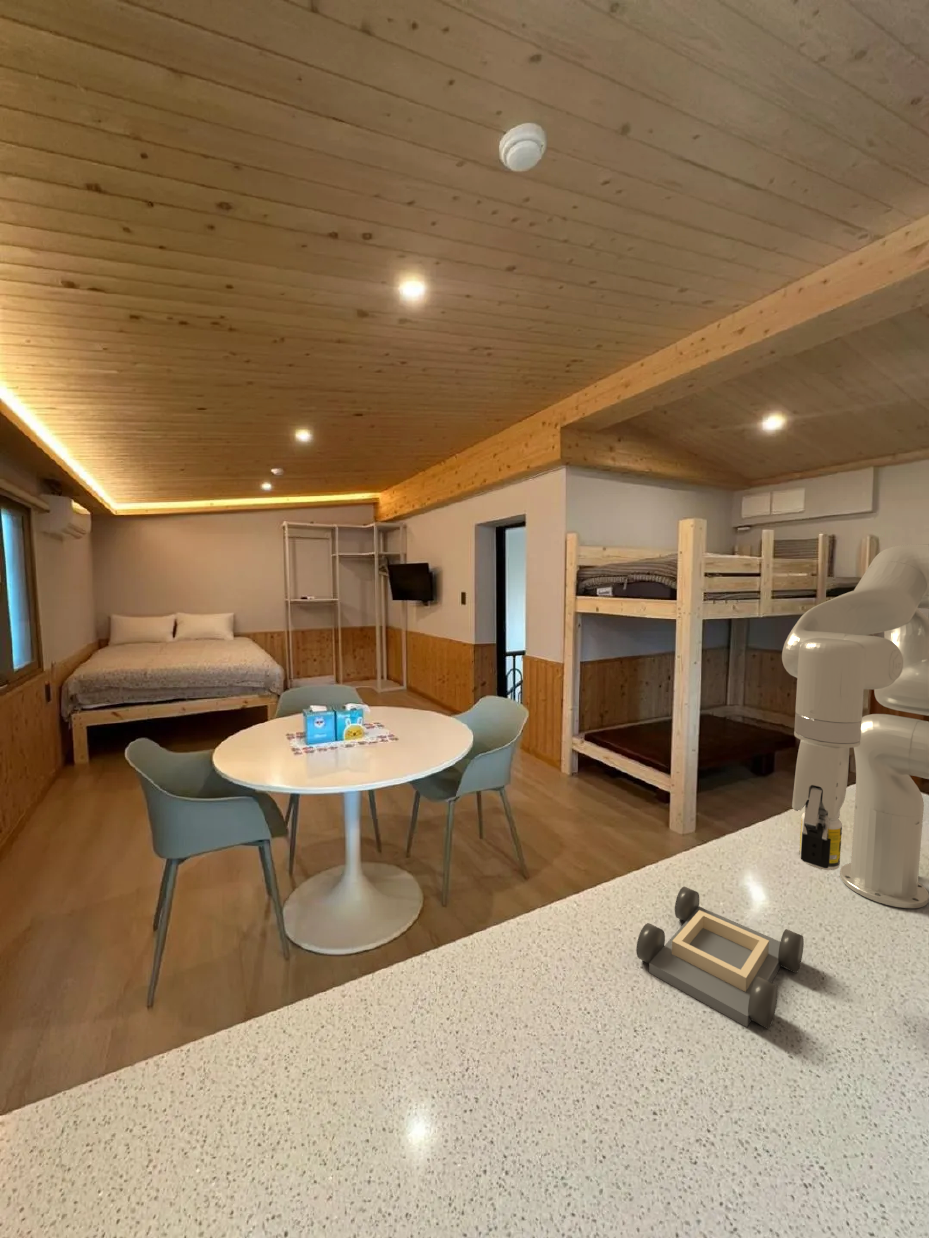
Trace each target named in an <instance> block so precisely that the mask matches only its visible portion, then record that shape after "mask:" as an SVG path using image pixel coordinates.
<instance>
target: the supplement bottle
mask: <svg viewBox="0 0 929 1238" xmlns="http://www.w3.org/2000/svg"><path fill="white" fill-rule="evenodd" d="M805 808H806V804H805V806H804V809H805ZM819 814H823V815H826V811H823V810H820V813H819ZM840 816H841V809H840V810H839V812H838V814H837V815H836V817H835V818H833V819H830V825H829V835H828V839H831V844H830V860H829V867H828V868H823V867H820V866H817V865H814V864H810V863H807V862H804V863H805V864H806V865H808V866H809V867H813V868H816V869H819V870H823V871H835V870H838V869H839V868H840V864H841V852H842V851H841V850H842V849H841V848H842V834H843V833H842V832H843V823H842V821H841V820H840ZM804 817H805V811H804V812H803V813H802V815H801V817H800V818H801V819H800V834H799V835H800V837H799V850H798V851H799V854H798V855H799V858H800V859H801V845H802V832H803V826H804ZM819 823H821V824H822V826H823V824H824V820H821V819H819Z"/></svg>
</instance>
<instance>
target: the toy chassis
mask: <svg viewBox="0 0 929 1238" xmlns="http://www.w3.org/2000/svg"><path fill="white" fill-rule="evenodd" d="M676 896H677V897H675V898H676V900H675V904H674V915H675V917H676V918H677V919H679V920H681V921H682V922H684V923H683V924H682V925H681V927H679V929H678V930H677V931H676V932H674V935H672V937H671V938H670V939H669V940H668V941H667V942H666V934H665V931H664V930H663V929H661V928H659V927H657V926H656V925H654V924H652V923H650V922H647V923H645V924H644V926H642V928H641V930H640V932H639V935H638V938H637V940H636V941H637V942H636V950H635V951H636V956H637V959H639V960H641V961H643V962H645V963H646V964H648V973H649V974H650V975H652V976H654V977H656V978H658V979H659V980H661V981H663V982H665V983H667V984H668V985H670V986H673V987H674V988H675V989H677V990H680V991H681V992H683V993H685V994H687V995H688V996H690V997H691V998H694V999H695V1000H698V1001H699V1002H701V1003H703V1004H704V1005H706V1006H708V1007H709V1008H712V1009H714V1010H715V1011H717V1012H719V1013H721V1014H723V1015H724V1016H727V1018H729V1019H731V1020H733V1021H735V1022H737V1023H738V1024H739V1025H742V1026H744V1027H746V1028H748V1027H749V1025H750V1023H751V1022H752V1021H753V1022H755V1023H757V1024H759V1025H760V1026H762V1027H764V1028H765V1029H770V1027H771V1026H772V1023H773V1020H774V1018H775V1015H776V1010H777V1005H778V998H779V997H778V995H779V991H778V986H777V985H776V984H774V983H773V981H774V980H775V977H776V976H777V974H778V972H779V970H780V969H781V967H782V968H785V969H786V970H789V971H792V972H793V973H795V974H797V973H798V972H799V969H800V967H801V964H802V959H803V954H804V948H805V947H804V946H805V945H804V943H805V941H804V940H805V939H804V936H803V935H802V934H799V933H797V932H795V931H792V930H790V929H787V928H785V930H783V932H782V936H781V938H780V940H778V939H774V938H773V937H770V936H769V935H765V934H764V933H761V932H759V931H757V930H754V929H752V928H749V927H747V926H745V925H743V924H742V923H741V924H740V923H738V922H736V921H733V920H731V919H729V918H726V917H725V916H722V915H719V914H717V913H715V912H713V911H710V910H709V909H706V908H704V907H701V906H700V894H699V892H698V891H696V890H694V889H691V888H689V887H686V886H682V887H681V888H680V890H678V893H677V895H676ZM665 942H666V944H665Z"/></svg>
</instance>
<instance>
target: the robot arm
mask: <svg viewBox="0 0 929 1238" xmlns="http://www.w3.org/2000/svg"><path fill="white" fill-rule="evenodd" d="M920 609H929V543H928V544H904V545H903V544H902V545H895V546H891V547H888V548H885V549H883V550H881V551H880V552H879V553H878V554H877V555H875V557H874V558H873V559H872V561H871V562H870V564H869V566H868V567H867V568H866V570H865V572H864V574H863V575H862V577H861V579H859V582H857V584H856V586H855V588H854V589H853V590H851V591H848V592H846V593H843V594H840V595H838V596H836V597H833V598H832V599H828V600H826V601H824V602H822V603H819V604H817V605H815V606H813V607H812V608H809V609H807V611H806V612H804V613H803V614H802V615H801V616H800V618H799V619H798V620H797V622H796V623H795V625H793V627H792V628H791V631H790V632H789V634H788V635H787V638H786V640H785V641H784V644H783V648H782V652H781V661H782V664H783V667H784V669H785V670H786V672H787V673H788V674H789V675H790V676H792V677H794V678H796V679H797V680H796V694H795V697H796V699H795V712H794V713H795V715H794V716H795V717H794V729H793V730H794V731H793V735H794V737H795V738H796V739H798V740H800V743H799V746H798V752H797V758H796V764H795V773H794V774H795V775H794V785H793V793H792V802H791V808H792V809H793V810H794V811H796V812H799V811H802V810H803V808H804V812H805V817H804V826H803V832H802V845H801V858H800V860H801V861H802V862H804V863H805V862H807V863H810V864H814V865H817V866H820V867H823V868H828V867H829V860H830V844H831V839H828V835H829V825H830V819H833V818H835V817H836V815H837V814H838V812H839V810H840V811H841V808H842V806H843V804H844V803H845V799H846V794H847V787H848V777H849V765H850V764H849V763H850V748H851V749H852V748H853V752H854V759H855V776H856V779H855V797H854V813H853V827H852V829H853V830H852V842H851V856H850V857H851V858H850V863H846V864H844V865H842V866H841V867H840V871H839V877H840V879H841V881H842V882H843V883H844V884H845V886H847V887H848V888H849V889H850V890H852V891H853V892H855V893H857V894H858V895H861V896H862V897H864V898H867V899H868V900H871V901H874V902H876V903H879V904H883V905H886V906H890V907H895V908H900V909H901V908H902V909H919V908H922V907H925V906H927V905H928V903H929V892H928V890H927V889H926V887H924V885H923V884H922V883H920V882H919V875H920V861H921V849H922V847H921V846H922V834H923V822H924V821H923V819H924V811H925V810H924V809H925V807H924V806H925V802H924V798H923V794H922V792H921V790H920V789H919V787H918V785H917V784H916V783H915V781H914V780H913V779H912V777H913V776H914V777H918V778H923V779H927V780H929V721H927V720H921V719H918V718H912V717H905V716H899V715H894V714H888V713H887V714H886V713H872V714H867V715H864V716H863V707H864V692H865V691H864V690H873V691H874V693H873V694H874V697H875V700H876V701H877V702H878V704H880V705H881V706H883V707H885V708H888V709H891V710H894V711H900V712H904V713H910V714H916V715H922V716H928V717H929V617H928V616H927V615H926V614H925V613H923V611H921V610H920ZM879 633H880V634H881V633H883V634H884V635H883V636H884V637H883V636H882V637H881V636H876V635H875V636H874V634H879ZM911 776H912V777H911ZM805 804H806V808H805ZM820 810H823V811H826V815H823V814H819V813H820ZM819 819H821V820H824V824H823V826H822V824H821V823H819Z"/></svg>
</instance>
